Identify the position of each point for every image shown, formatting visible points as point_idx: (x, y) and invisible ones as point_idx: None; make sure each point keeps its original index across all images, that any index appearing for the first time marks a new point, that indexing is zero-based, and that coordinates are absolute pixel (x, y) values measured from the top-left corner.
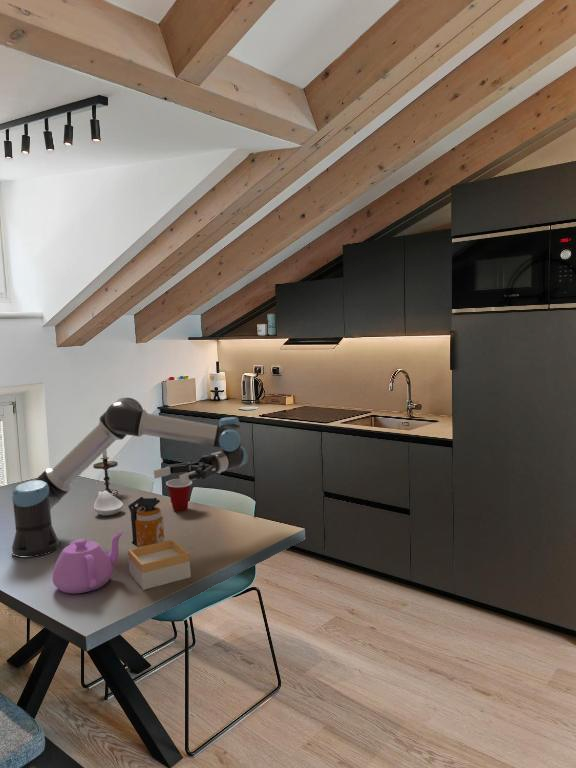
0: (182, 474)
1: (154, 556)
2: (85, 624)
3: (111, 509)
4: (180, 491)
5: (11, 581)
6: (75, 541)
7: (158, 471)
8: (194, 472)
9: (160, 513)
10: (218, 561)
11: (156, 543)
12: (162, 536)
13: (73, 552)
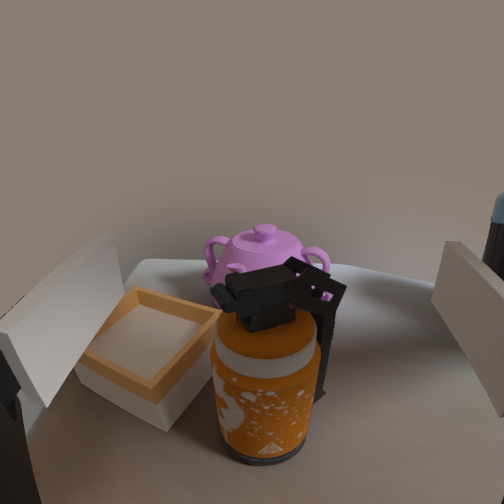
0: (95, 247)
1: (167, 350)
2: (160, 265)
3: None
4: None
5: (373, 273)
6: (268, 224)
7: (457, 267)
8: (5, 328)
9: (222, 351)
10: (51, 464)
11: (181, 355)
12: (217, 406)
13: (253, 231)
